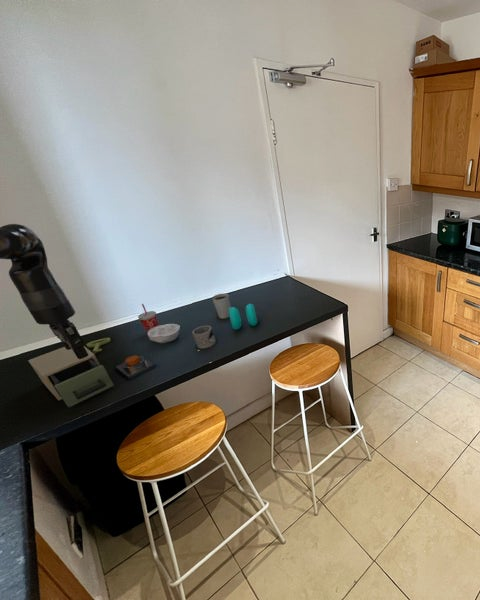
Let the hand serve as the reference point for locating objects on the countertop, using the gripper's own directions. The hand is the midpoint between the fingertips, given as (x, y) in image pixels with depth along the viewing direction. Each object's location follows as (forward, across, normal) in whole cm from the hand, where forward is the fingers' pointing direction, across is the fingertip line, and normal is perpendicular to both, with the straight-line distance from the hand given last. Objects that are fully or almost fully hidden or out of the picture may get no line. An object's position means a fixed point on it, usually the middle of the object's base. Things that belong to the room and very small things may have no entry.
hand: (77, 352), depth 89 cm
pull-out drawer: (+19, -12, -1) cm, 22 cm away
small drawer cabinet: (+20, -22, -1) cm, 30 cm away
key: (+20, -40, +11) cm, 46 cm away
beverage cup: (+20, -33, +28) cm, 48 cm away
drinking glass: (+20, -20, +53) cm, 60 cm away
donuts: (+20, -4, +52) cm, 56 cm away
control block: (+20, -12, +13) cm, 27 cm away
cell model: (+20, -22, +28) cm, 41 cm away
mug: (+20, -7, +36) cm, 42 cm away
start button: (+17, -12, +13) cm, 25 cm away
